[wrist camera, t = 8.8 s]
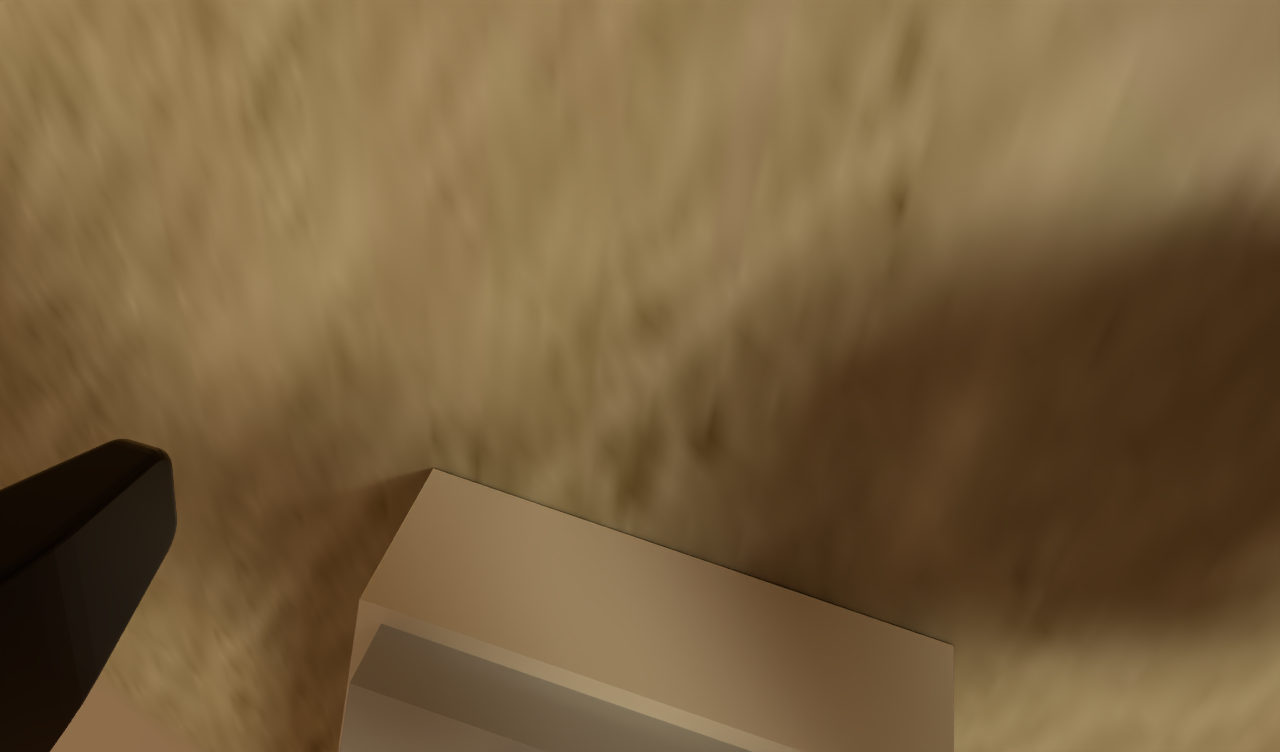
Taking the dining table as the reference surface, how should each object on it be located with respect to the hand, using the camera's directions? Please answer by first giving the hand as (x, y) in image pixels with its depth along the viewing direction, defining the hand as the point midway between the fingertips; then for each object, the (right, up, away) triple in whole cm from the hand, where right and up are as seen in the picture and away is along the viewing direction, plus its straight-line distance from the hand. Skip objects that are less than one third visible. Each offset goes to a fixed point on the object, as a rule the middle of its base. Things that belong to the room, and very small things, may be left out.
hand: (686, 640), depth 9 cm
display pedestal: (-1, -6, +20) cm, 21 cm away
